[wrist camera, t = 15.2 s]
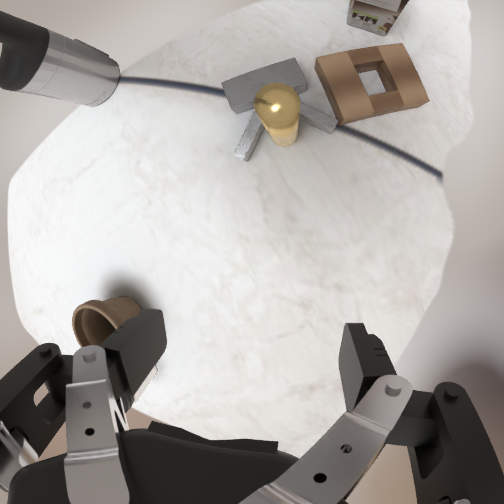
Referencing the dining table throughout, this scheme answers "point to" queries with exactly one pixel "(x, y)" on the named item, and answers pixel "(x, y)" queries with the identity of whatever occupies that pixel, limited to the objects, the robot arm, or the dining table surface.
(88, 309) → the flower pot
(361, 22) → the coffee box
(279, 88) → the axle
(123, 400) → the jar
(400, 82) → the hollow rectangular block
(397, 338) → the dining table surface
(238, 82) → the v block
